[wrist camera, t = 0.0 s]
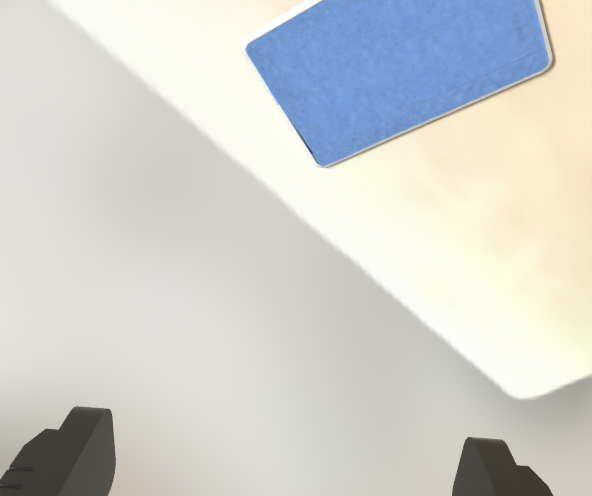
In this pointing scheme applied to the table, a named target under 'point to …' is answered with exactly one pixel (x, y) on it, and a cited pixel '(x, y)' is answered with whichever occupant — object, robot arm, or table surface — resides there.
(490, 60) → the tablet computer
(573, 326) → the table surface
